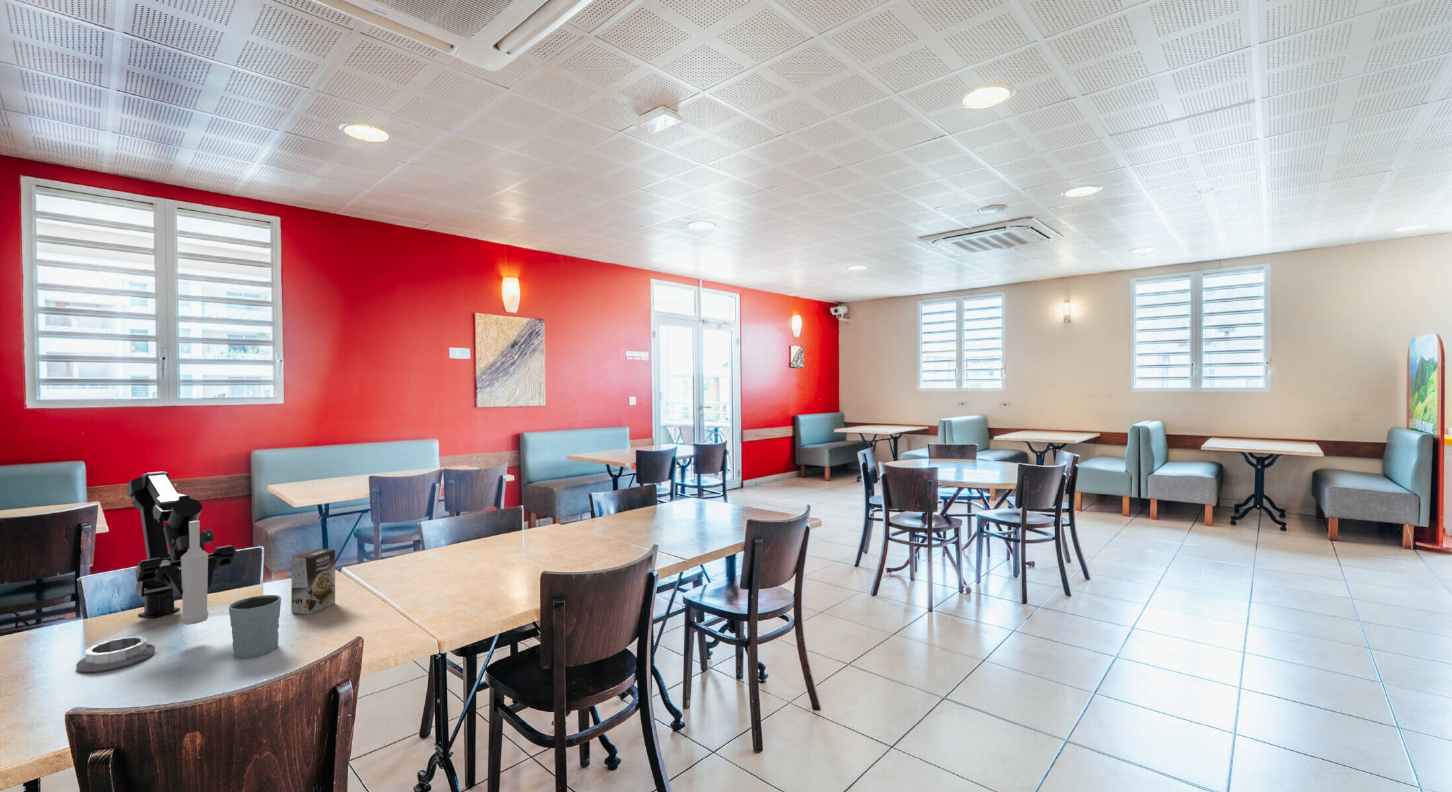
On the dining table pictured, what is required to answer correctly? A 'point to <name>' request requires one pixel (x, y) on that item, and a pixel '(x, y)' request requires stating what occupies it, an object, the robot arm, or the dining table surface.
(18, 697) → the dining table surface
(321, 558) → the coffee box
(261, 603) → the grey-green cup
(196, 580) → the bottle
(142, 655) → the grey ring
